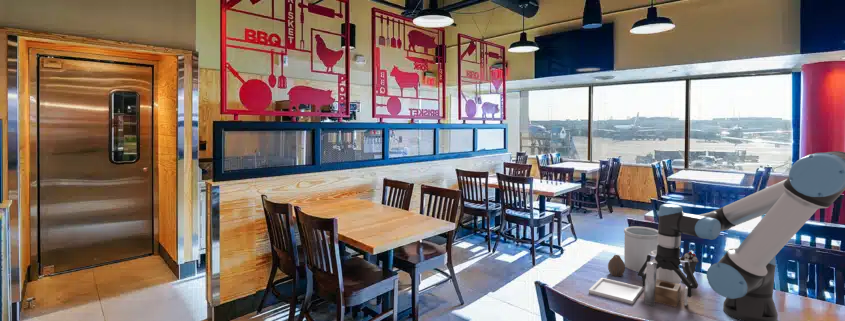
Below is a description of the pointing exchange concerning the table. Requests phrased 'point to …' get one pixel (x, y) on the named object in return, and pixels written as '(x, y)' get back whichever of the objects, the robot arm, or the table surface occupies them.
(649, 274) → the pin
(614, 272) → the vase
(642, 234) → the utensil holder
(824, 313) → the table surface
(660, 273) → the cup
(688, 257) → the sundae
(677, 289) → the wooden square holder
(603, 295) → the tray
